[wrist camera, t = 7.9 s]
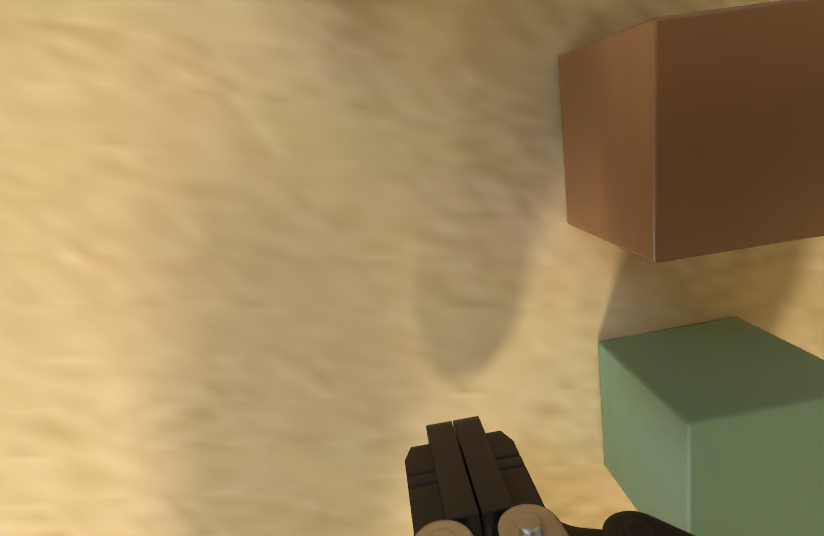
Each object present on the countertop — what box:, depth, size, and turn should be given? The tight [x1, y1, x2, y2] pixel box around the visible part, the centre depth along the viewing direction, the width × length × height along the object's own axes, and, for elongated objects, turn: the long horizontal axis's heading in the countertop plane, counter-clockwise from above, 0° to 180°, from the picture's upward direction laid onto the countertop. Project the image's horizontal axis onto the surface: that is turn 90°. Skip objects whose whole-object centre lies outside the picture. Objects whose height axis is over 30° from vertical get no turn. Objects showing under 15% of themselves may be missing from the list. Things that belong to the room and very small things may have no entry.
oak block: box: [559, 0, 824, 263], centre depth 12 cm, size 4×4×4 cm
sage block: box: [598, 317, 824, 536], centre depth 14 cm, size 4×4×4 cm
